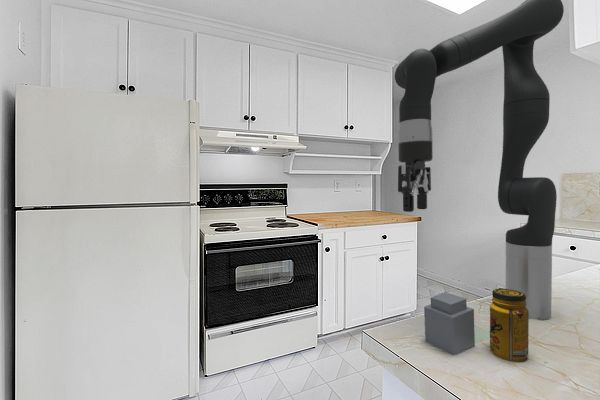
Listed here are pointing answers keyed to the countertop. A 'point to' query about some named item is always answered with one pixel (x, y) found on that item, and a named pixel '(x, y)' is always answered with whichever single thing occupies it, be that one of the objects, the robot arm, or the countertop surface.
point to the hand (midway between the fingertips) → (415, 210)
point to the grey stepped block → (449, 323)
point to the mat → (480, 334)
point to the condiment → (509, 325)
